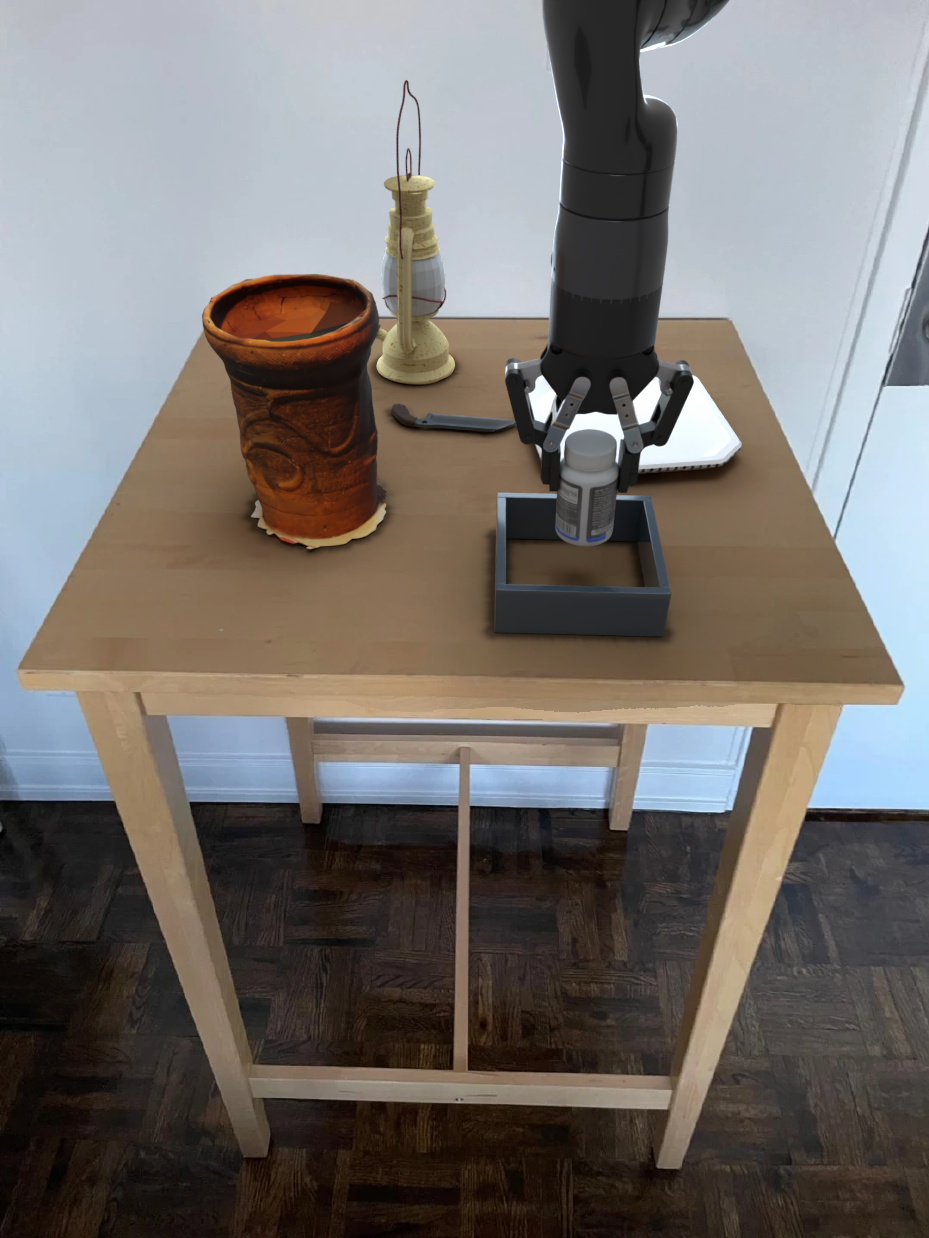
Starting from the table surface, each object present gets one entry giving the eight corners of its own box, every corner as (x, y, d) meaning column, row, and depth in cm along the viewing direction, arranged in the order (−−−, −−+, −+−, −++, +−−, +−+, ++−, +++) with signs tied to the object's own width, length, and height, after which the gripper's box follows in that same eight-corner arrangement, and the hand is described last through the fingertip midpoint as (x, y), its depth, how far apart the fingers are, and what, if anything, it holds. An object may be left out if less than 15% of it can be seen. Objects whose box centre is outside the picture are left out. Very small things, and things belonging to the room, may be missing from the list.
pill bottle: (612, 516, 79) (622, 427, 74) (613, 549, 76) (623, 459, 70) (555, 513, 79) (561, 424, 74) (553, 546, 76) (559, 456, 70)
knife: (385, 426, 101) (385, 420, 100) (393, 408, 104) (393, 402, 103) (516, 436, 99) (516, 430, 99) (520, 418, 102) (520, 412, 101)
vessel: (207, 530, 87) (161, 321, 73) (290, 455, 96) (263, 259, 83) (344, 570, 82) (321, 355, 69) (416, 487, 92) (409, 285, 79)
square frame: (644, 536, 86) (651, 495, 83) (663, 637, 76) (671, 594, 73) (495, 533, 86) (497, 492, 83) (494, 632, 76) (495, 589, 73)
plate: (545, 492, 91) (546, 473, 90) (510, 391, 107) (511, 373, 105) (750, 478, 93) (754, 458, 92) (686, 381, 109) (690, 363, 107)
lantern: (384, 341, 116) (368, 64, 97) (462, 347, 115) (463, 68, 95) (360, 387, 107) (338, 92, 88) (445, 393, 106) (442, 96, 86)
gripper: (500, 294, 61) (496, 512, 72) (724, 295, 60) (685, 515, 72) (501, 252, 67) (497, 460, 78) (705, 253, 66) (672, 463, 77)
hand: (587, 485), depth 75 cm, fingers closed on pill bottle, 4 cm apart
